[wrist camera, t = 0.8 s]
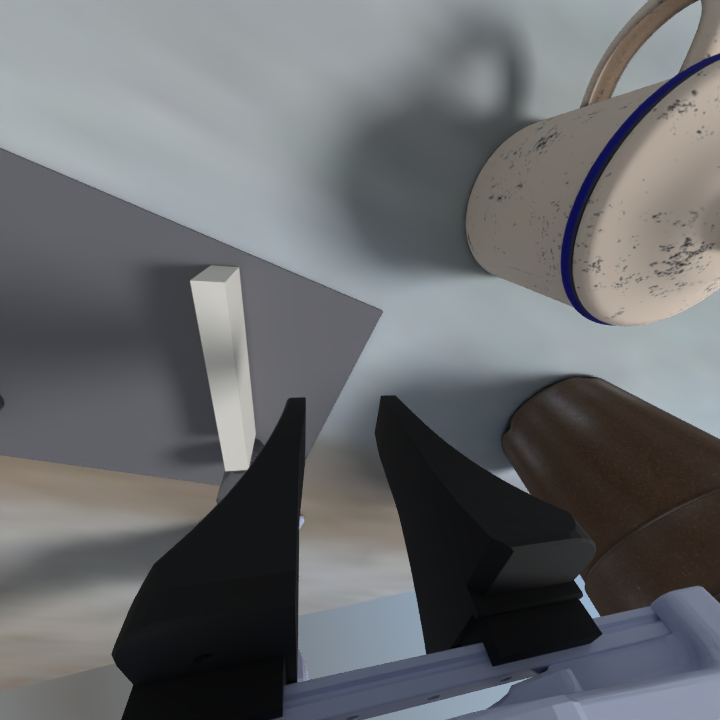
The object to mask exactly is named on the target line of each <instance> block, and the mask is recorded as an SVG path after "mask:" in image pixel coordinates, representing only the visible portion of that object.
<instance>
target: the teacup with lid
mask: <svg viewBox="0 0 720 720" xmlns="http://www.w3.org/2000/svg"><path fill="white" fill-rule="evenodd" d="M696 1H698V0H649V1H648V2H647V3H646V4H645V5H644V6H643V7H642V8H641V9H640V10H639V11H638V12H637V13H636V14H635V15H634V16H633V17H632V18H631V19H630V20H629V21H628V23H627V24H626V25H625V26H624V27H623V29H622V30H621V31H620V32H619V33H618V35H617V36H616V37H615V39H614V40H613V41H612V43H611V44H610V46H609V47H608V49H607V50H606V52H605V53H604V55H603V56H602V58H601V60H600V62H599V63H598V65H597V67H596V69H595V71H594V73H593V75H592V78H591V80H590V82H589V85H588V87H587V90H586V92H585V95H584V98H583V101H582V103H581V106H580V109H577V110H573V111H570V112H567V113H564V114H561V115H558V116H555V117H552V118H549V119H546V120H543V121H540V122H537V123H534V124H531V125H529V126H527V127H525V128H523V129H521V130H519V131H518V132H516V133H515V134H513V135H512V136H511V137H509V138H508V139H507V140H506V141H505V142H504V143H502V144H501V145H500V146H499V147H498V149H497V150H496V151H495V152H494V153H493V154H492V156H491V157H490V158H489V159H488V161H487V162H486V164H485V165H484V167H483V168H482V170H481V172H480V174H479V175H478V177H477V180H476V182H475V184H474V186H473V189H472V192H471V195H470V198H469V202H468V207H467V213H466V234H467V240H468V244H469V247H470V250H471V252H472V254H473V256H474V258H475V259H476V261H477V262H478V263H479V265H480V266H481V267H482V268H484V269H485V270H486V271H488V272H489V273H491V274H493V275H495V276H498V277H500V278H503V279H505V280H508V281H510V282H513V283H515V284H518V285H520V286H523V287H525V288H528V289H530V290H533V291H535V292H537V293H540V294H542V295H545V296H547V297H550V298H552V299H555V300H557V301H560V302H562V303H565V304H567V305H570V306H572V307H574V308H575V309H576V310H577V311H578V312H579V313H580V314H581V315H582V316H584V317H586V318H587V319H589V320H591V321H594V322H596V323H600V324H604V325H617V326H635V325H644V324H649V323H653V322H657V321H660V320H663V319H666V318H669V317H671V316H674V315H676V314H678V313H681V312H683V311H685V310H686V309H688V308H690V307H692V306H694V305H695V304H697V303H699V302H700V301H702V300H704V299H705V298H707V297H708V296H709V295H711V294H712V293H714V292H715V291H716V290H718V289H719V288H720V0H701V2H702V13H701V18H700V22H699V26H698V29H697V32H696V34H695V37H694V39H693V42H692V44H691V47H690V49H689V51H688V53H687V56H686V58H685V60H684V62H683V64H682V67H681V69H680V71H679V73H678V75H676V76H675V77H673V78H672V79H669V80H666V81H663V82H660V83H657V84H653V85H650V86H647V87H644V88H641V89H638V90H635V91H632V92H629V93H626V94H623V95H620V96H617V97H613V98H611V97H612V95H613V92H614V90H615V88H616V85H617V83H618V81H619V79H620V77H621V75H622V73H623V72H624V70H625V68H626V67H627V65H628V64H629V62H630V61H631V59H632V58H633V56H634V55H635V54H636V53H637V51H638V50H639V49H640V48H641V47H642V45H643V44H644V43H645V42H646V41H647V40H648V39H649V38H650V37H651V36H652V35H653V34H654V33H655V32H656V31H657V30H658V29H659V28H660V27H661V26H662V25H663V24H665V23H666V22H667V21H668V20H669V19H671V18H672V17H673V16H674V15H676V14H677V13H679V12H680V11H681V10H683V9H684V8H686V7H688V6H689V5H691V4H693V3H695V2H696Z"/></svg>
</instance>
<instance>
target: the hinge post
mask: <svg viewBox="0 0 720 720" xmlns="http://www.w3.org/2000/svg"><path fill="white" fill-rule="evenodd" d="M263 447H264V444H263V443H262V442H261V441H260V440H258V439H256V438H255V441H254V446H253V450H252V455H251V460H250V465H249V467H250V466H251V464H252V463H253V462H254V460H255V459H256V457H257V456H258V455H259V453H260V452H261V450H262V448H263ZM246 471H247V470H239V471H225V472H224V475H223V479H222V482H221V485H220V489H219V492H218V496H217V499H216V501H217V504H218V503H219V502H220V501H221V500H222V499H223V498H224V497H225V496H226V495H227V494H228V493H229V491H230V490H231V489H232V488H233V487H234V486H235V484H236V483H237V482H238V481H239V480H240V478H241V477H242V476H243V475H244V474H245V472H246Z"/></svg>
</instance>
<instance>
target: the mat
mask: <svg viewBox="0 0 720 720" xmlns="http://www.w3.org/2000/svg"><path fill="white" fill-rule="evenodd" d="M211 265H215V266H230V267H239V271H240V281H241V291H242V301H243V311H244V321H245V331H246V341H247V351H248V361H249V371H250V381H251V391H252V400H253V410H254V420H255V430H256V436H255V438H256V439H258V440H260V441H261V442H262V443H263V444H264V445H265V444H266V442H267V441H268V439H269V437H270V436H271V434H272V432H273V430H274V429H275V427H276V425H277V423H278V421H279V419H280V417H281V415H282V413H283V410H284V408H285V405H286V402H287V400H288V399H289V398H297V397H306V437H305V460H306V458H307V456H308V454H309V452H310V450H311V448H312V446H313V444H314V442H315V440H316V439H317V437H318V435H319V433H320V431H321V429H322V427H323V425H324V423H325V421H326V419H327V418H328V416H329V414H330V412H331V410H332V408H333V406H334V404H335V402H336V400H337V399H338V397H339V395H340V393H341V391H342V389H343V387H344V385H345V383H346V381H347V379H348V378H349V376H350V374H351V372H352V370H353V368H354V366H355V364H356V362H357V360H358V358H359V357H360V355H361V353H362V351H363V349H364V347H365V345H366V343H367V341H368V339H369V338H370V336H371V334H372V332H373V330H374V328H375V326H376V324H377V322H378V320H379V318H380V317H381V315H382V313H383V311H382V310H380V309H378V308H375V307H373V306H371V305H368V304H366V303H364V302H361V301H359V300H357V299H354V298H352V297H350V296H347V295H345V294H343V293H340V292H338V291H335V290H333V289H331V288H328V287H326V286H324V285H321V284H319V283H317V282H314V281H312V280H310V279H307V278H305V277H303V276H300V275H298V274H296V273H293V272H291V271H288V270H286V269H284V268H281V267H279V266H277V265H274V264H272V263H270V262H267V261H265V260H263V259H260V258H258V257H256V256H253V255H251V254H249V253H246V252H244V251H241V250H239V249H237V248H234V247H232V246H230V245H227V244H225V243H223V242H220V241H218V240H216V239H213V238H211V237H209V236H206V235H204V234H202V233H199V232H197V231H194V230H192V229H190V228H187V227H185V226H183V225H180V224H178V223H176V222H173V221H171V220H169V219H166V218H164V217H162V216H159V215H157V214H155V213H152V212H150V211H147V210H145V209H143V208H140V207H138V206H136V205H133V204H131V203H129V202H126V201H124V200H122V199H119V198H117V197H115V196H112V195H110V194H108V193H105V192H103V191H100V190H98V189H96V188H93V187H91V186H89V185H86V184H84V183H82V182H79V181H77V180H75V179H72V178H70V177H68V176H65V175H63V174H61V173H58V172H56V171H54V170H51V169H49V168H46V167H44V166H42V165H39V164H37V163H35V162H32V161H30V160H28V159H25V158H23V157H21V156H18V155H16V154H14V153H11V152H9V151H7V150H4V149H2V148H0V395H1V396H2V397H3V399H4V403H5V404H4V407H3V408H2V409H1V410H0V455H3V456H11V457H18V458H25V459H32V460H39V461H47V462H54V463H61V464H68V465H75V466H83V467H90V468H97V469H104V470H112V471H119V472H126V473H133V474H140V475H148V476H155V477H162V478H169V479H176V480H184V481H191V482H198V483H205V484H212V485H221V482H222V479H223V475H224V472H225V467H224V461H223V456H222V450H221V445H220V440H219V434H218V429H217V424H216V418H215V413H214V407H213V402H212V397H211V391H210V386H209V380H208V375H207V370H206V364H205V359H204V354H203V348H202V343H201V337H200V332H199V327H198V321H197V316H196V310H195V305H194V300H193V294H192V289H191V284H190V280H191V279H193V278H194V277H196V276H197V275H198V274H200V273H201V272H202V271H204V270H205V269H207V268H208V267H209V266H211Z"/></svg>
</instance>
